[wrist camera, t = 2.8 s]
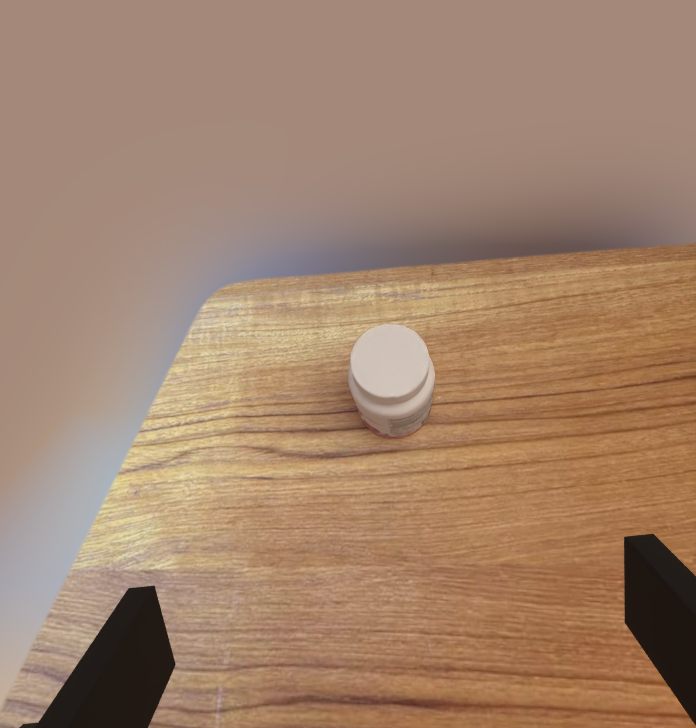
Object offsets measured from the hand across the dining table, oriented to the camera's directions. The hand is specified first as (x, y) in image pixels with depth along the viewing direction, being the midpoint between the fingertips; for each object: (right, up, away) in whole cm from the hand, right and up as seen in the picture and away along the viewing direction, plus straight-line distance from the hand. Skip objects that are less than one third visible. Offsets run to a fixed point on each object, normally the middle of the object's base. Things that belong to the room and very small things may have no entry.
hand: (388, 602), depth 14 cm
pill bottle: (+2, +4, +19) cm, 19 cm away
